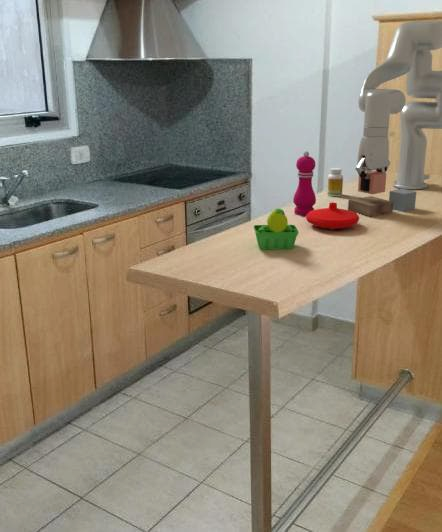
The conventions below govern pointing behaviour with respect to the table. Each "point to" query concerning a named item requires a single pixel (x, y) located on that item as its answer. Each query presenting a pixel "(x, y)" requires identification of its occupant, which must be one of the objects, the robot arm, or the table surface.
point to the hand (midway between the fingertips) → (371, 188)
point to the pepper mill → (304, 186)
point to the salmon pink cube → (375, 182)
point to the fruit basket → (276, 232)
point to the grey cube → (403, 199)
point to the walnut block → (370, 206)
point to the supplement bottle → (335, 182)
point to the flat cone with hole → (332, 217)
